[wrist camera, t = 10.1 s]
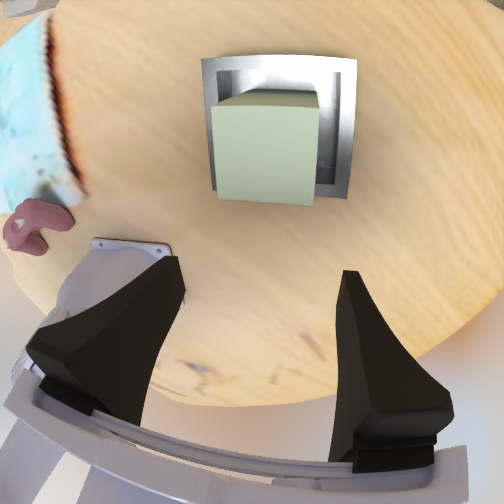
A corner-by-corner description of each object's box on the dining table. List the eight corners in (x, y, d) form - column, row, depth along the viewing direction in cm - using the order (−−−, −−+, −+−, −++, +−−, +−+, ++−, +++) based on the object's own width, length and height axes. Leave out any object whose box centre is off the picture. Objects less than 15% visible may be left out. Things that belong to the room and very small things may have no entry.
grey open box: (227, 170, 21) (212, 190, 18) (220, 59, 16) (201, 59, 13) (342, 177, 19) (346, 198, 16) (348, 61, 14) (356, 59, 12)
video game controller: (68, 187, 26) (13, 192, 20) (78, 226, 26) (21, 237, 20) (38, 222, 31) (-6, 231, 24) (47, 255, 31) (2, 267, 24)
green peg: (253, 146, 19) (217, 199, 12) (252, 88, 16) (210, 106, 10) (314, 150, 18) (313, 206, 12) (316, 91, 16) (319, 108, 9)
